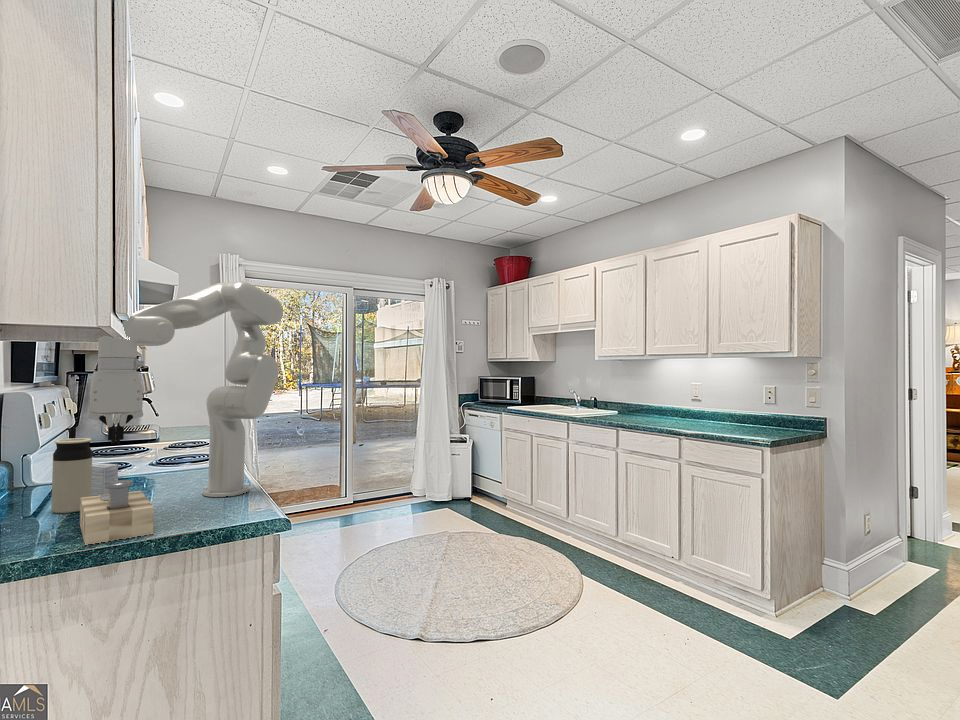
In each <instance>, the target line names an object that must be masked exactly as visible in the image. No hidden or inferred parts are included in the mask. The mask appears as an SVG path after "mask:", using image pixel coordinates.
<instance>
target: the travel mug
mask: <svg viewBox="0 0 960 720" xmlns="http://www.w3.org/2000/svg"><path fill="white" fill-rule="evenodd" d="M91 442H92V438H88V437H76V438H74V437H73V438H71V437H70V438H62V439H61V438H60V439H57V440H55V441H54V443H55V444H56V449H55V451H54V452H53V453H52V477H51V478H52V480H51V481H52V483H51V510H50V511H51V512H52V513H53V514H54V513H55V514H71V513H78V512H80V498H82V497H91V479H92V464H93V450H92V448H91V445H90V443H91Z"/></svg>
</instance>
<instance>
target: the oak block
mask: <svg viewBox="0 0 960 720" xmlns="http://www.w3.org/2000/svg"><path fill="white" fill-rule="evenodd" d="M100 496H101V495H99V496H91V497H82V498H80V511H79V526H80V530H81V531H80V532H81V534H82V539H83V543H85V544H84V546H85V545H87V546H89V545H88V544H93V545H96V544H95V543H99V544H102V543H101V542H105V543H109V542H108V541H111V542H115V541H114V540H117V541H120V540H119V539H123V540H126V539H125V538H129V539H131V538H130V537H135V538H138V537H137V536H141V537H145V536H144V535H147V536H150V535H149V534H153V535H154V518H155V517H154V516H155V513H154V512H155V507H154V505H153V504H152V503H151V502H150V500H149V499H148V497H147V496H146V495H145V494H144V492H142V490H135V491H134V490H133V491H129V493H128V508H121V509H114V510H109V501H102V500H100Z"/></svg>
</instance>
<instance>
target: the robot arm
mask: <svg viewBox="0 0 960 720" xmlns="http://www.w3.org/2000/svg"><path fill="white" fill-rule="evenodd" d="M229 312H230V317H231V320H232V322H233V323H234V326H235V328H236V332H237V340H236V343H235V346H234V348H233V350H232V353H231V355H230V357H229V360H228V362H227V364H226V368H225V372H224V376H225V379H226V380H227V382H229V383H231V384H234V385H224V386H218V387H216V388H214V389H212V390H211V391H210V392H209V394H208V395H207V398H206V410H207V411H206V412H207V415H208V422H209V445H208V446H209V447H208V448H209V449H208V451H209V453H208V487H205V488H203V489H202V491H201V495H203V496H204V497H209V498H225V497H226V496H228V497H235V496H239V495H243V493H244V494H247V493H249V492H250V486H249V485H247V484H245V462H246V461H245V459H246V458H245V457H246V456H245V455H246V428H245V427H244V426H245V425H244V424H243V421H242V420H255V419H256V420H257V419H258V418H260V417H261V416H262V415H264V414H265V412H266V409H267V407H268V405H269V403H270V401H271V397H272V396H273V395H272V394H273V391H274V389H275V386H276V383H277V381H278V377H279V365H278V362H277V360H276V359H275V358H274V357H273V356H271V355H269V354H264V353H265V350H266V346H267V340H266V336H265V335H264V333H263V330H262V328H261V326H274V325H277V324H279V322H281V320H282V319H283V316H284V308H283V305H282V304H281V302H280V301H279V300H278V299H277V298H276V297H274V296H272V295H271V294H269V293H267V292H266V291H264V290H262V289H261V288H259V287H256V285H253V284H250V283H249V282H245V281H228V282H226V281H224V282H218V283H214V284H211V285H209V286H207V287H205V288H203V289H202V288H201V289H200V290H197V291H195V292H192V293H190V294H188V295H184V296H182V297H179V298H175V299H172V300H168V301H166V302H163V303H159V304H155V305H152V306H150V307H146V308H142V309H141V310H138V311H136V312H132V314H133V315H131V316H130V318H129V320H128V321H124V322H123V323H122V324H123V327H124V331H125V334H126V337H127V336H128V338H129V337H130V340H129V339H128V340H127V339H116V338H112V337H109V336H103V337H100V338H99V337H98V341H97V342H98V343H97V344H98V348H97V349H98V350H97V352H98V354H97V370H96V371H93V373H92V377H91V381H90V389H89V390H90V391H89V406H88V407H89V412H88V414H87V418H88V419H89V420H94V421H100V422H101V423H103V424H104V425H105V426H106V427H107V441H110V443H111V445H115V444H117V445H120V444H121V441H123V440H124V436H125V435H124V434H125V433H124V431H125V428H124V427H125V426H126V425H127V424H128V423H129V422H130V421H131V420H135V419H139V418H142V417H144V412H143V385H142V378H141V373H140V371H137V369H138V368H141V367H144V366H145V362H144V360H139V359H138V358H137V357H138V356H137V355H138V347H143V346H145V347H158V346H164V345H166V344H168V343H170V342H171V341H172V340H173V338H174V337H175V335H176V334H175V330H181V329H189V328H192V327H197V326H201V325H203V324H205V323H207V322H210V321H211V320H213V319H215V318H217V317H219V316H222V315H223V314H225V313H229ZM235 385H237V386H235ZM114 414H119V415H120V416H119V421H118V423H117V424H116V426H115V423H114V421H113V419H114V418H113V415H114ZM246 492H247V493H246ZM226 498H227V497H226Z"/></svg>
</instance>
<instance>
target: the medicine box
mask: <svg viewBox="0 0 960 720" xmlns="http://www.w3.org/2000/svg"><path fill="white" fill-rule="evenodd" d="M118 477H119V465H118V464H117V463H116V464H114V463H101V462H100V463H98V462H97V463H92V479H91V496H99V495H103V494H107V493H109V489H106V488H105V483H107V482H111V481H119V478H118Z"/></svg>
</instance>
